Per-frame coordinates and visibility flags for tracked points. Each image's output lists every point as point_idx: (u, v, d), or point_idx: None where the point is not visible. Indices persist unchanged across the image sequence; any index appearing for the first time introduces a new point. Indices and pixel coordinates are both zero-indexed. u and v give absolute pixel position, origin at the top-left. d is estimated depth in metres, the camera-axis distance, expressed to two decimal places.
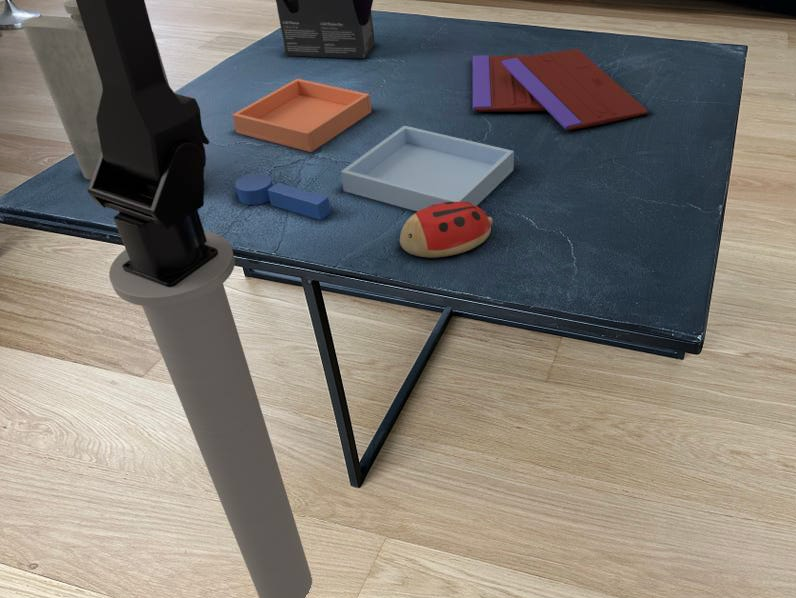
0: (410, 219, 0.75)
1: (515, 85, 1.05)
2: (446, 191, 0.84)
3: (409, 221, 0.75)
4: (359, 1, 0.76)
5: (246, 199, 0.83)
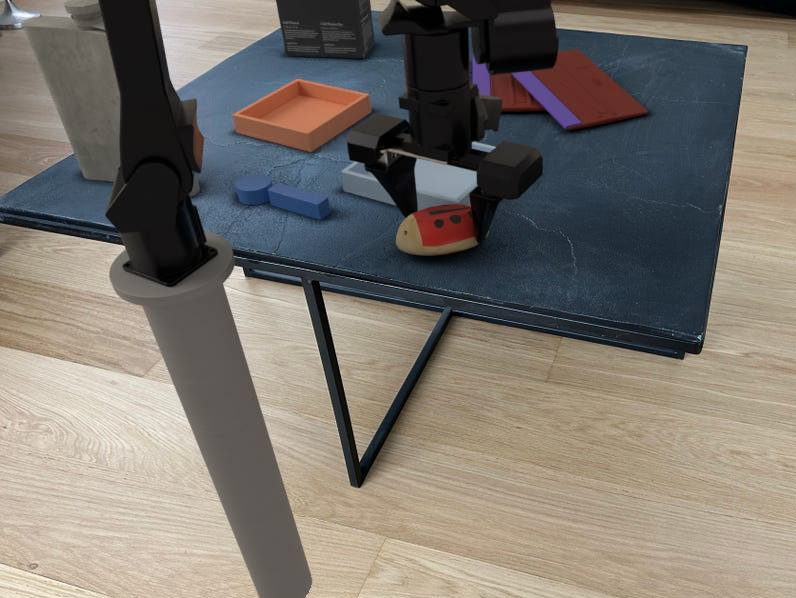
0: (406, 218, 0.75)
1: (515, 85, 1.05)
2: (446, 191, 0.84)
3: (405, 220, 0.75)
4: (481, 226, 0.72)
5: (246, 199, 0.83)
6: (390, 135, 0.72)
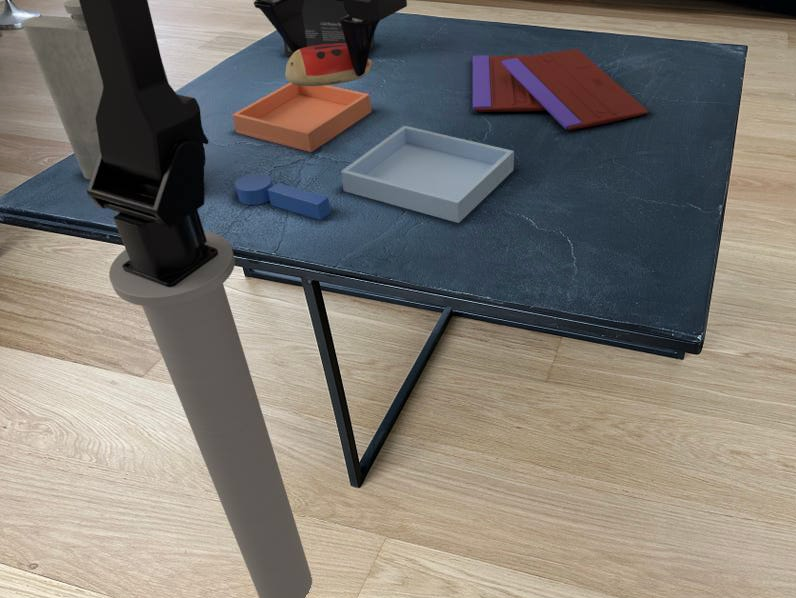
0: (294, 52, 0.84)
1: (515, 85, 1.05)
2: (446, 191, 0.84)
3: (292, 54, 0.84)
4: (356, 55, 0.81)
5: (246, 199, 0.83)
6: None
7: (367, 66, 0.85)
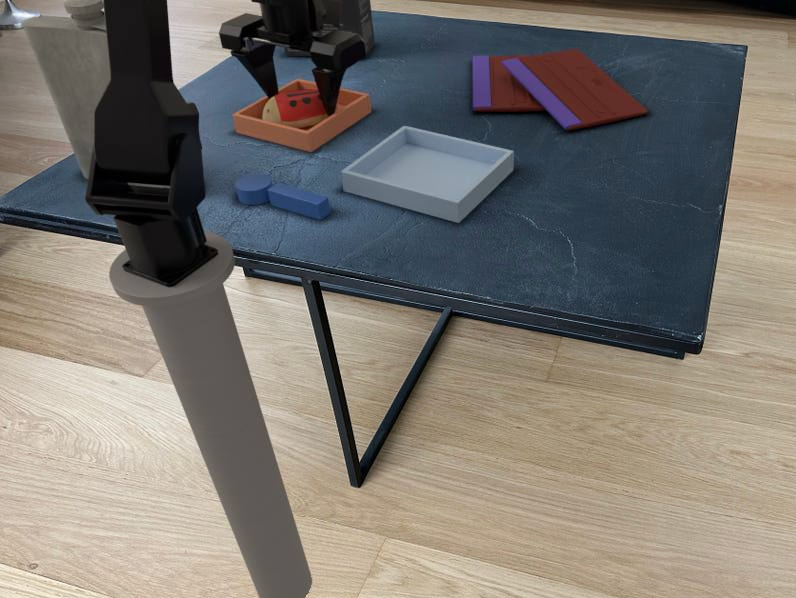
0: None
1: (515, 85, 1.05)
2: (446, 191, 0.84)
3: None
4: (326, 99, 0.93)
5: (246, 199, 0.83)
6: (252, 28, 0.94)
7: None
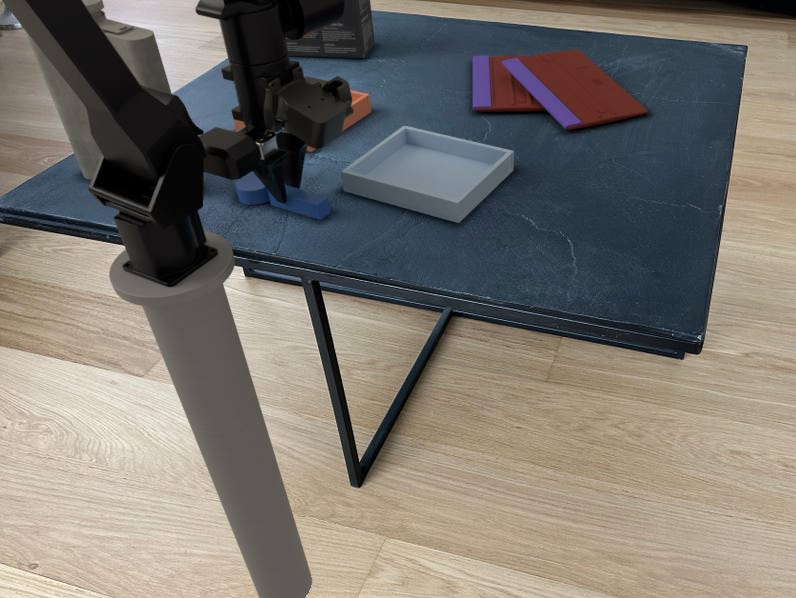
0: None
1: (515, 85, 1.05)
2: (446, 191, 0.84)
3: None
4: (260, 179, 0.80)
5: (246, 199, 0.83)
6: None
7: None
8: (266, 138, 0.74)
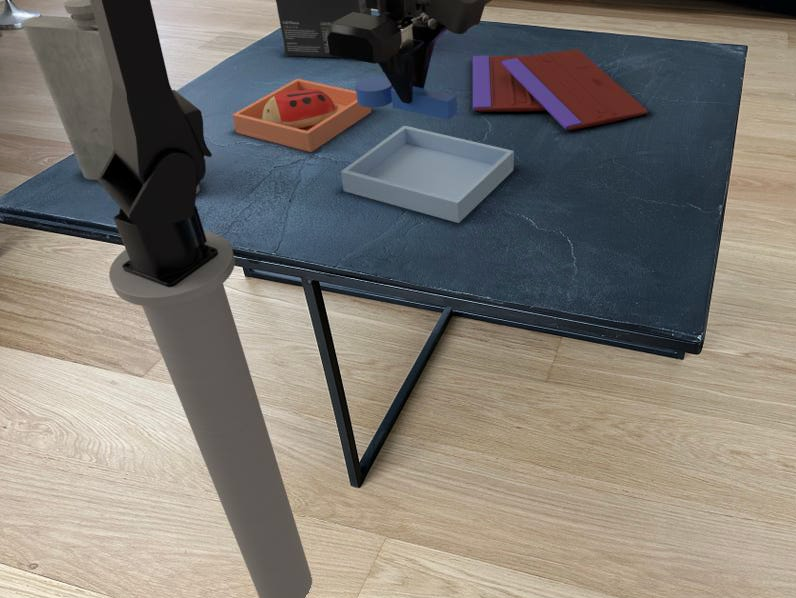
0: None
1: (515, 85, 1.05)
2: (446, 191, 0.84)
3: None
4: (387, 76, 0.77)
5: (368, 100, 0.80)
6: None
7: (334, 110, 0.98)
8: (404, 25, 0.71)
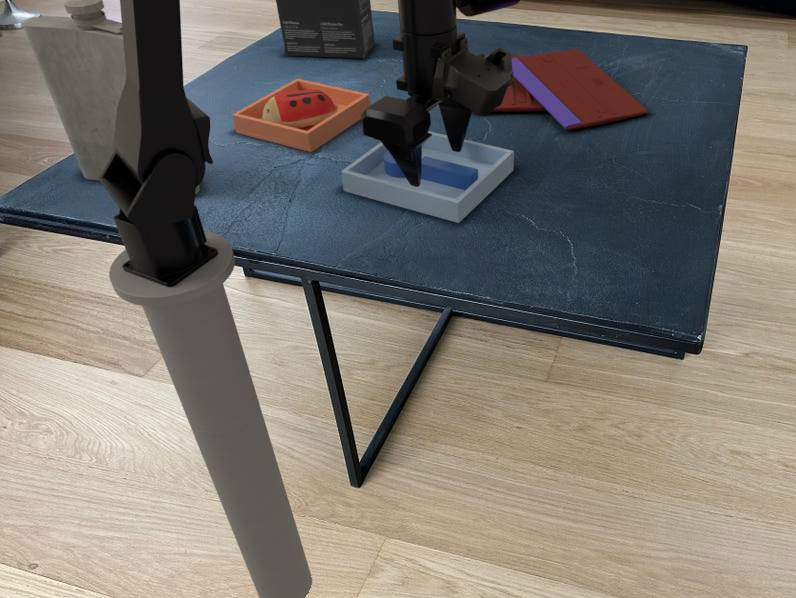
0: None
1: (515, 85, 1.05)
2: (446, 191, 0.84)
3: None
4: (396, 162, 0.81)
5: (395, 171, 0.86)
6: None
7: (334, 110, 0.98)
8: None
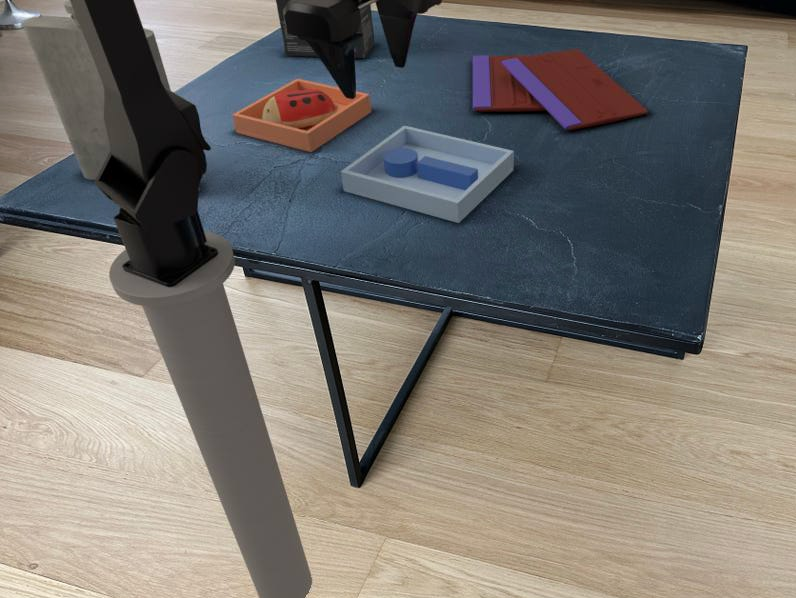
0: None
1: (515, 85, 1.05)
2: (446, 191, 0.84)
3: None
4: (328, 70, 0.74)
5: (395, 171, 0.86)
6: None
7: (334, 110, 0.98)
8: None
